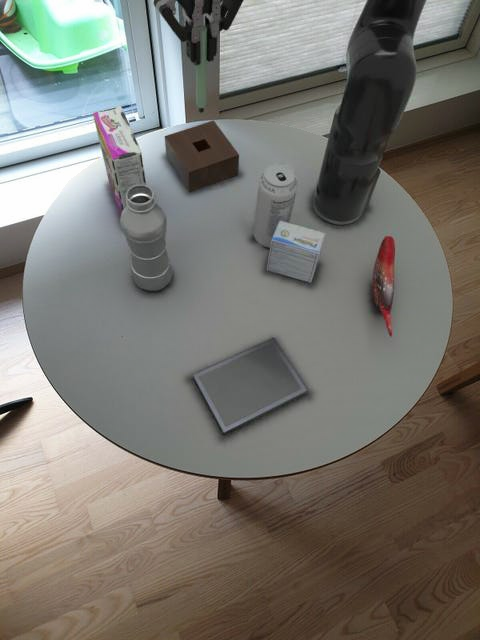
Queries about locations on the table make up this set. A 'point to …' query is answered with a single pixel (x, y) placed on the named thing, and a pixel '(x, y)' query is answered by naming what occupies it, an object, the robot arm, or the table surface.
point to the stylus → (202, 71)
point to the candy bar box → (119, 153)
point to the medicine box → (295, 251)
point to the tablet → (249, 385)
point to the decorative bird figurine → (384, 279)
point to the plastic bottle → (146, 239)
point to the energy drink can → (274, 201)
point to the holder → (201, 155)
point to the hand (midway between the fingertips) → (201, 59)
